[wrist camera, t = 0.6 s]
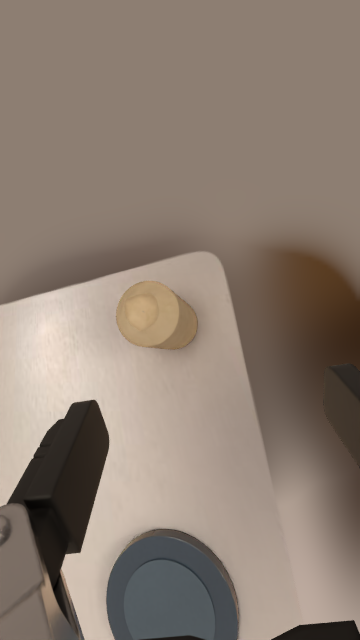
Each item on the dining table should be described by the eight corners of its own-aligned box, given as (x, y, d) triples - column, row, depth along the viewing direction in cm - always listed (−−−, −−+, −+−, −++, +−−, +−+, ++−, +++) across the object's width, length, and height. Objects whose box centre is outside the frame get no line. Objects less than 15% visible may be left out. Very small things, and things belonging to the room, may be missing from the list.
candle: (140, 328, 33) (94, 316, 23) (171, 290, 32) (137, 262, 23) (176, 360, 31) (142, 361, 22) (208, 321, 31) (189, 304, 21)
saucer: (223, 525, 28) (222, 533, 27) (252, 682, 26) (252, 700, 25) (104, 532, 31) (97, 539, 30) (120, 674, 29) (114, 690, 27)
